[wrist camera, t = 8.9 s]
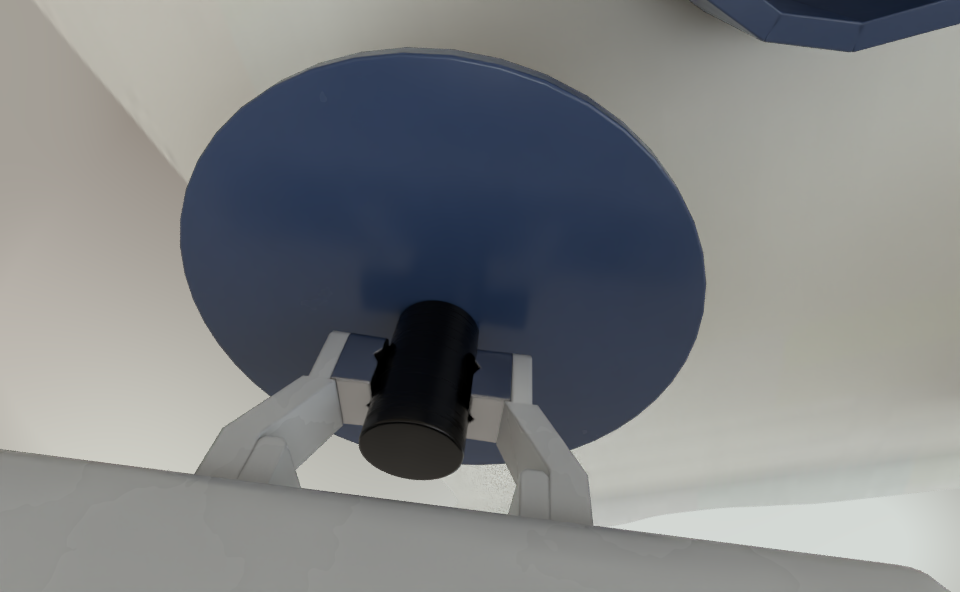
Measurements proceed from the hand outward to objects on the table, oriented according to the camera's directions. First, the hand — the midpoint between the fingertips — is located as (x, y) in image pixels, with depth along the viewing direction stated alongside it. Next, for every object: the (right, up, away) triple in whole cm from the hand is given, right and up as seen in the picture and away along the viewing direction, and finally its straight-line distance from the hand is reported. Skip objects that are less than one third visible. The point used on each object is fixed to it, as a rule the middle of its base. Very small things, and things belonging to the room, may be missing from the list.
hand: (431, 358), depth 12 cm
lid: (0, +1, +1) cm, 2 cm away
